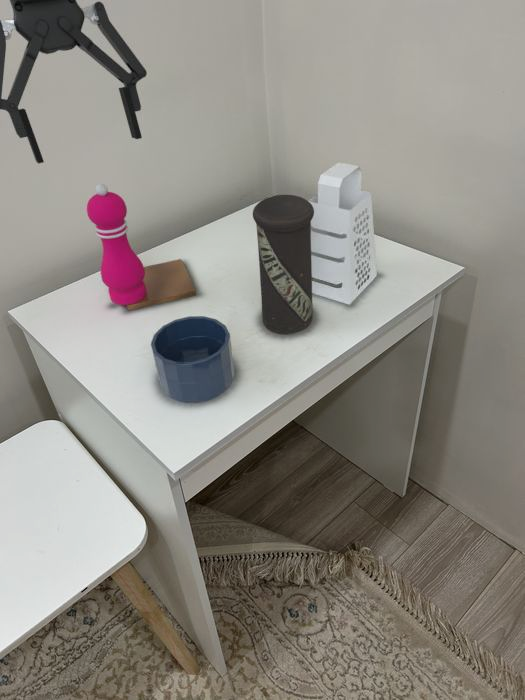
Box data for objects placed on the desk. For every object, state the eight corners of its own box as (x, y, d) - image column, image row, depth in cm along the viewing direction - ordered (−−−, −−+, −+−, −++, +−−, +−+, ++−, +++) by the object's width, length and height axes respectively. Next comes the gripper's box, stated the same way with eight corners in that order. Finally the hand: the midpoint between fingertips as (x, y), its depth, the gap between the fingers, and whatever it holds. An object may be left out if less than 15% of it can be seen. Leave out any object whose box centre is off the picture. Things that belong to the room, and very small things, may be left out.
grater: (376, 275, 97) (386, 164, 84) (349, 304, 90) (355, 189, 78) (325, 261, 102) (327, 154, 89) (295, 287, 95) (293, 176, 83)
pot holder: (128, 311, 93) (127, 306, 92) (119, 277, 102) (117, 272, 101) (196, 295, 95) (195, 290, 95) (181, 263, 104) (181, 258, 104)
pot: (168, 411, 73) (159, 372, 69) (154, 364, 81) (145, 326, 77) (243, 390, 76) (239, 352, 71) (222, 346, 84) (217, 309, 79)
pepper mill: (136, 279, 99) (110, 171, 86) (157, 295, 94) (133, 183, 81) (100, 295, 95) (67, 184, 83) (120, 312, 91) (88, 198, 78)
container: (254, 333, 86) (244, 215, 73) (267, 301, 93) (260, 188, 80) (308, 338, 84) (308, 218, 71) (318, 305, 91) (319, 190, 78)
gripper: (125, -46, 71) (166, 126, 82) (-81, -18, 63) (-6, 168, 74) (140, -57, 65) (182, 130, 76) (-85, -27, 57) (-3, 176, 68)
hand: (89, 149), depth 75 cm, fingers open, 13 cm apart
